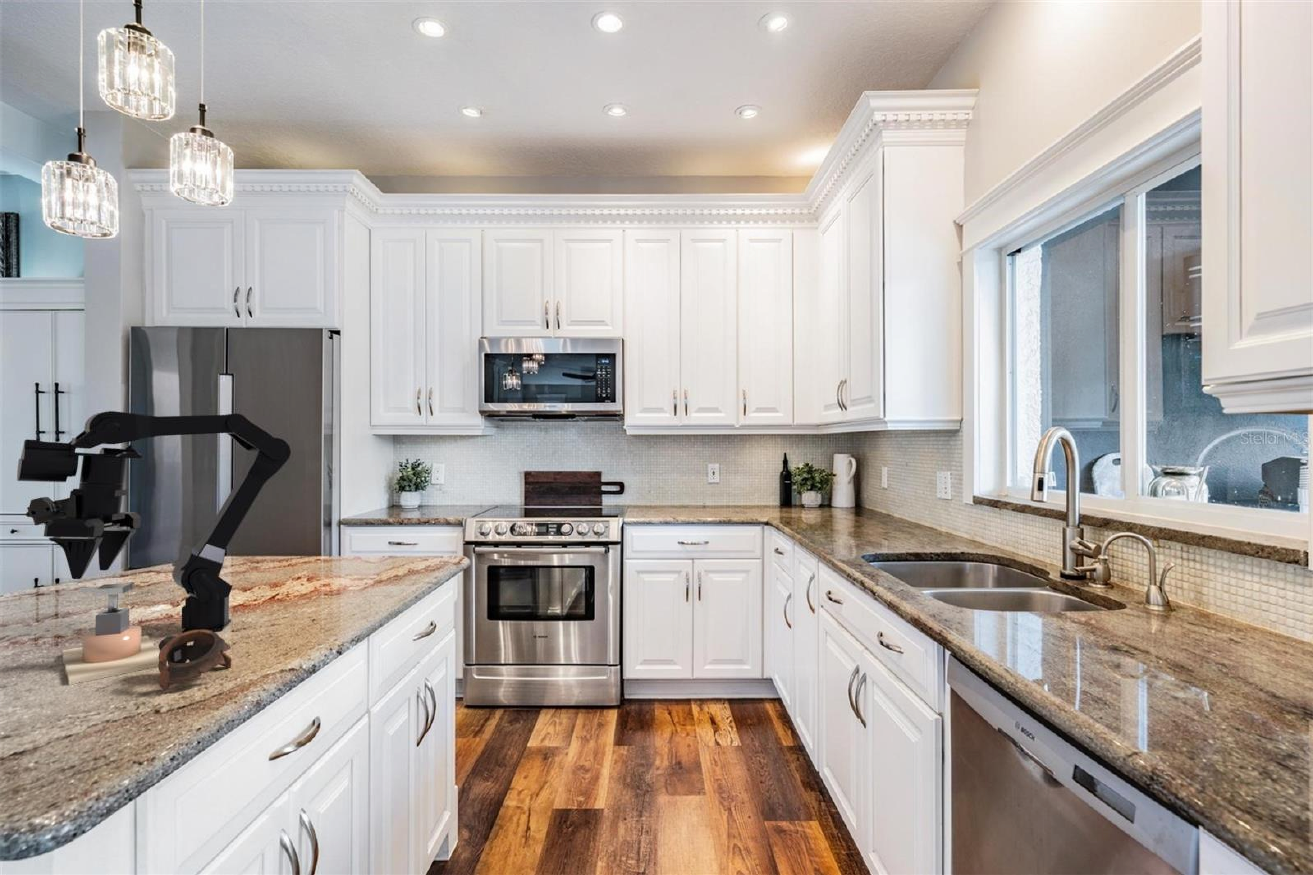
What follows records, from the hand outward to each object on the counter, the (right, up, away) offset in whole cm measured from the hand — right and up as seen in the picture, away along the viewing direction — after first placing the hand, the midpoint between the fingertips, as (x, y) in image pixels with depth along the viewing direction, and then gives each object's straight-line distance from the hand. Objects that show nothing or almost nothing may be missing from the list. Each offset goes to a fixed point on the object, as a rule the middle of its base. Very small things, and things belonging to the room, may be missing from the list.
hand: (90, 574), depth 104 cm
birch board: (+8, -13, -5) cm, 16 cm away
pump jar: (+8, -13, -5) cm, 16 cm away
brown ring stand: (+26, -13, -12) cm, 32 cm away
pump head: (+7, -5, -5) cm, 10 cm away
